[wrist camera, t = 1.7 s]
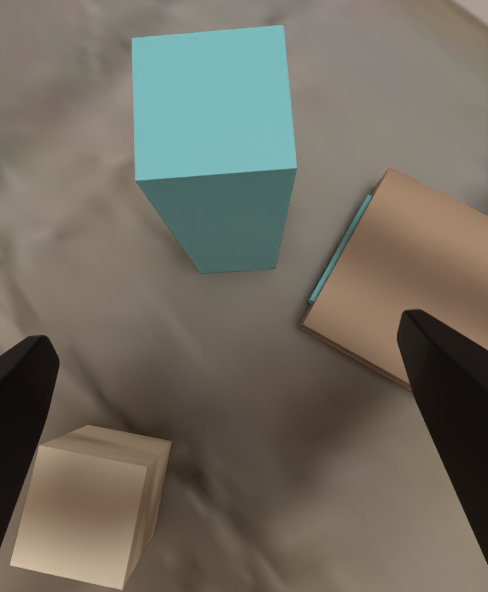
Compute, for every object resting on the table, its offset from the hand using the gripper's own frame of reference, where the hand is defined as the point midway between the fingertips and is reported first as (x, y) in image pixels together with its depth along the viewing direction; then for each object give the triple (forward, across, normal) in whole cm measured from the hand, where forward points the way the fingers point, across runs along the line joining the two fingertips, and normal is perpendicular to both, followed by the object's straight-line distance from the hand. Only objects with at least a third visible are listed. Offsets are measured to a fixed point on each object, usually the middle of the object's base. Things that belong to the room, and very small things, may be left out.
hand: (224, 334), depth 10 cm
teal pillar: (+14, 0, +4) cm, 14 cm away
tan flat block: (+11, -10, +8) cm, 17 cm away
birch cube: (+4, +7, +14) cm, 16 cm away
